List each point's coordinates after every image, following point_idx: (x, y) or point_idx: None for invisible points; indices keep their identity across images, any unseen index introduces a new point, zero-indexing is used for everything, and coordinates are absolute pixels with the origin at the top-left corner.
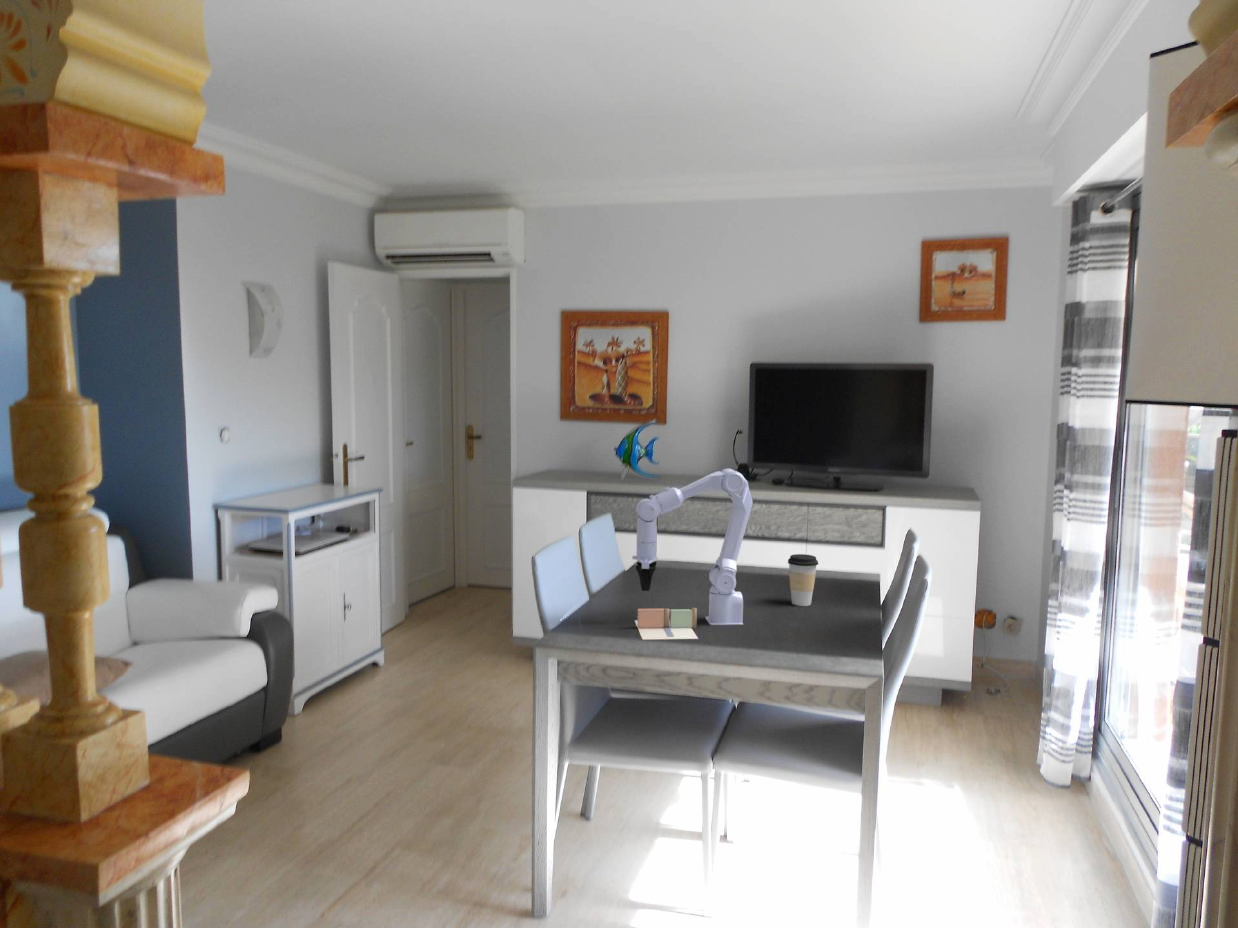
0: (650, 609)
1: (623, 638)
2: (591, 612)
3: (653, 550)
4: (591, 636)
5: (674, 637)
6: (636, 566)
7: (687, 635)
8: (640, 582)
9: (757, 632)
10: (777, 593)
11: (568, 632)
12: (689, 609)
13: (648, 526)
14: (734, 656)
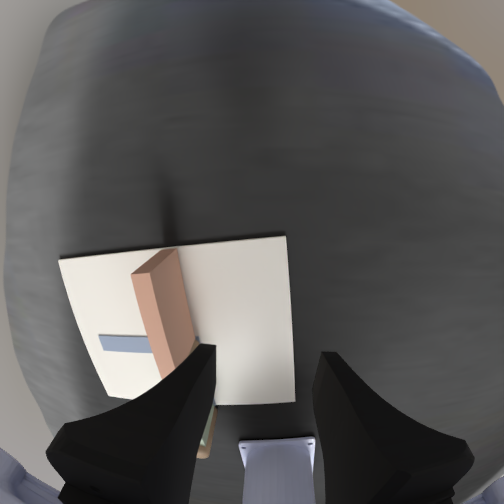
0: (149, 329)
1: (66, 198)
2: (407, 71)
3: None
4: (80, 93)
5: (97, 348)
6: (65, 458)
7: (125, 381)
8: (174, 370)
9: (200, 481)
10: None
11: (125, 17)
12: (200, 442)
13: None
14: (47, 410)
